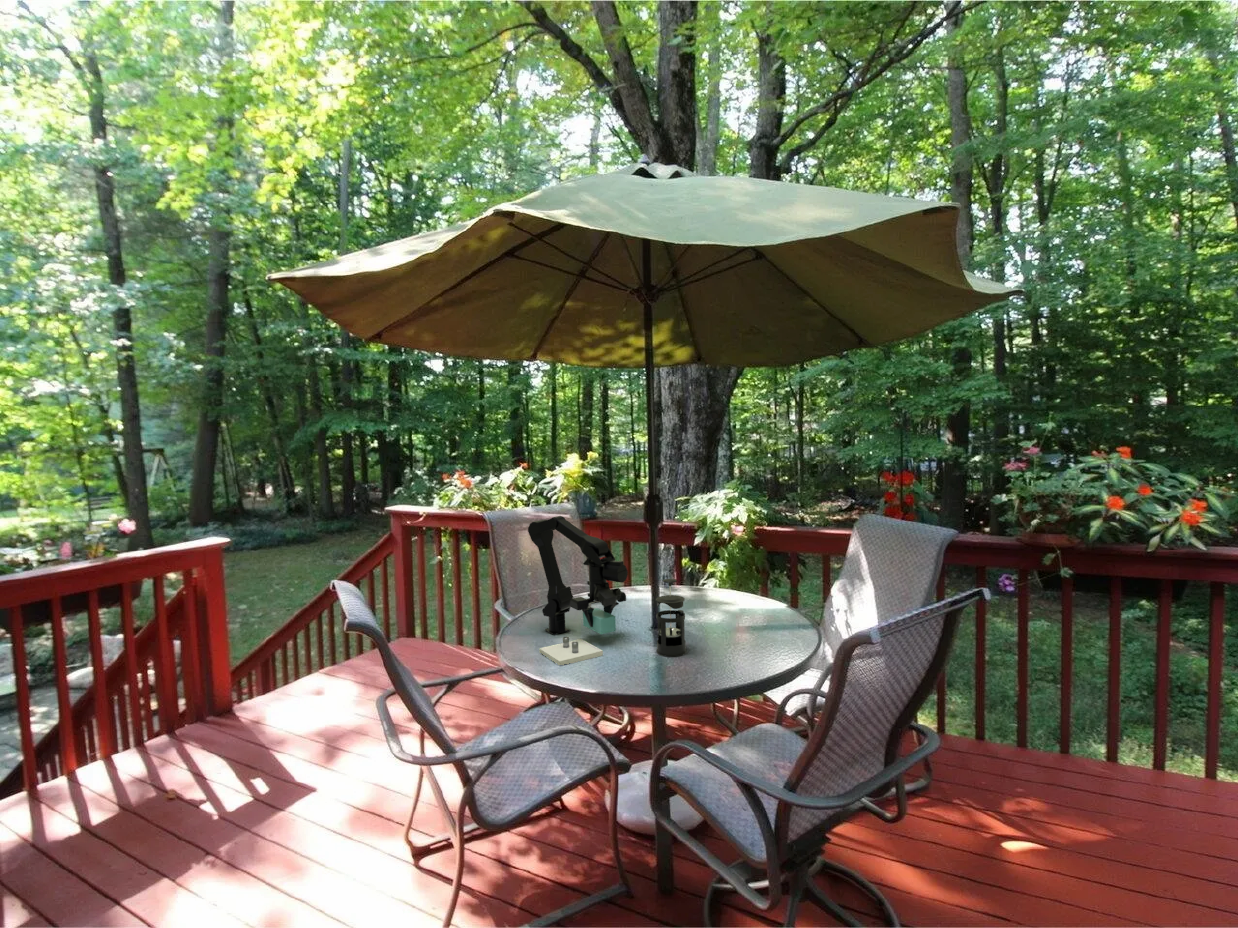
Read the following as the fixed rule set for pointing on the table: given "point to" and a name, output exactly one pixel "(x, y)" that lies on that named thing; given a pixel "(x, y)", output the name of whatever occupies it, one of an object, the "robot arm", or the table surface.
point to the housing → (601, 622)
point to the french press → (670, 638)
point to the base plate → (566, 655)
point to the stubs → (574, 645)
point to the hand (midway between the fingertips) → (599, 625)
